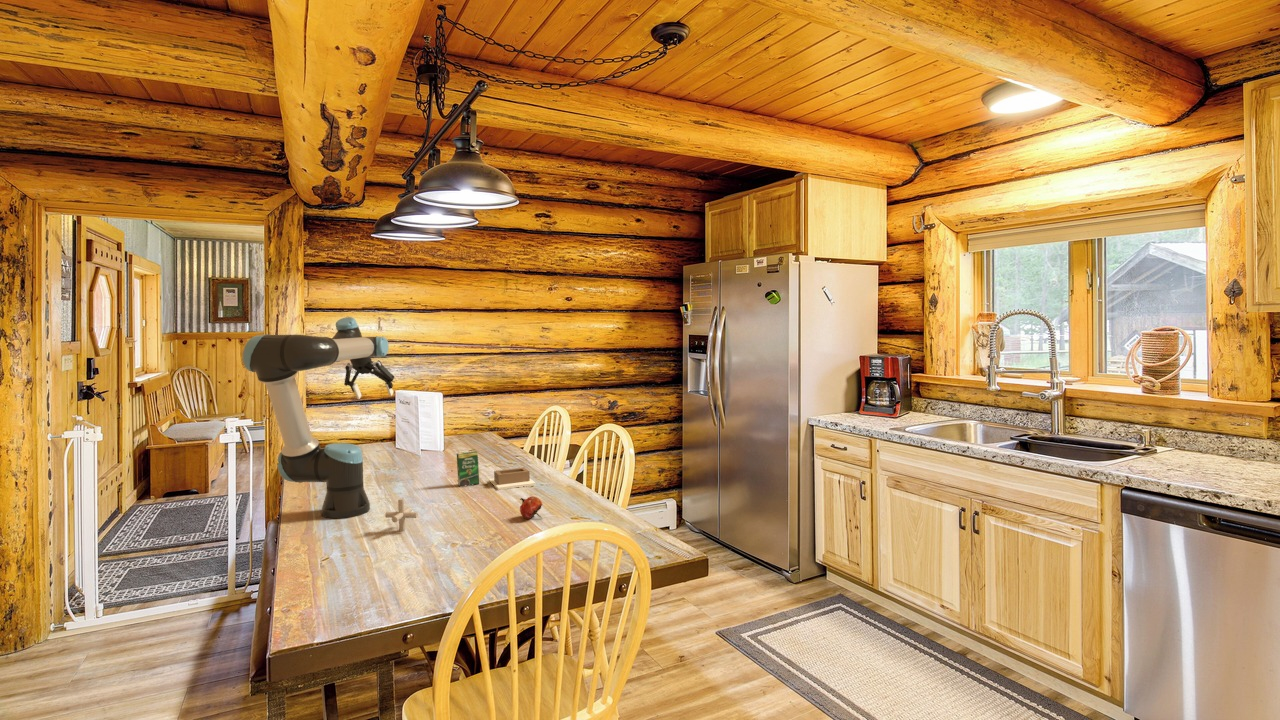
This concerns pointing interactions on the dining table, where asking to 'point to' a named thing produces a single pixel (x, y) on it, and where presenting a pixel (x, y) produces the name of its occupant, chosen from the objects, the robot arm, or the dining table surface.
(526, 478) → the socket board
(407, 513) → the pipe connector
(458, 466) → the coffee box
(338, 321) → the robot arm
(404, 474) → the dining table surface
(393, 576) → the dining table surface
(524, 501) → the pomegranate
